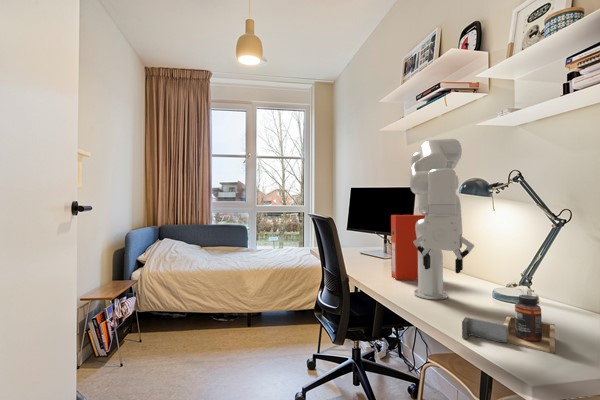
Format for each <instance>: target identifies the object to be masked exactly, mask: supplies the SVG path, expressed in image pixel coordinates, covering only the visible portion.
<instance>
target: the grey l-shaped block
mask: <svg viewBox="0 0 600 400" xmlns="http://www.w3.org/2000/svg"><path fill="white" fill-rule="evenodd" d="M470 336H473V337H474V336H475V337H478V338H483V339H487V340H491V341H494V342H495V341H496V342H500V343H505V344H508V343H507V325H503V324H501V323H497V322H492V321H487V320H482V319H476V318H473V317H467V316H465V317H464V318H463V320H461V337H462V339H466V340H467V339H468V338H469V337H470Z"/></svg>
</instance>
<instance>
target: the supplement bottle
mask: <svg viewBox="0 0 600 400" xmlns="http://www.w3.org/2000/svg"><path fill="white" fill-rule="evenodd" d="M537 303H538V301H537V297H536V296H534V295H529V294H519V295H518V301H517V302H515V304H514V317H515V331H516V335H517V337H519V338H521V339H524V340H527V341H535V342H536V341H540V340H542V322H543V321H542V319H543V318H542V308H541V306H540V305H539V304H537Z"/></svg>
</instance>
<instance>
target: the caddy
mask: <svg viewBox="0 0 600 400" xmlns="http://www.w3.org/2000/svg"><path fill="white" fill-rule="evenodd" d="M503 322H504V323H503V324H502V325H507V343H506V344H513V345H516V346H519V347H525V348H528V349H529V348H530V349H533V350H538V351H542V352H546V353H551V354H556V334H555V333H556V330H555V327H556V325H555V324H554V323H550V322H549V323H548V322H543V321H542V340H540V341H536V342H535V341H527V340H524V339H521V338H519V337H517V335H516V331H515V316H513V315H512V316H511V315H507V316H506V318H505V321H503Z"/></svg>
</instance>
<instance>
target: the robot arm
mask: <svg viewBox="0 0 600 400" xmlns="http://www.w3.org/2000/svg"><path fill="white" fill-rule="evenodd" d="M461 144H462V143H460V141H459V140H457V139H456V138H443V139H442V138H441V139H431V140H430V139H429V140H426V141H424V142H423V143H422V144H421V146H420V147H419V151H417V152H415V153H413V154H412V156H411V159H410V163H411V167H410V170H409V188H410V191H411V192H412V193H413V194H414V195H418V196H417V199H418V201H417V203H418V211H419V214H420V215H425V218H424V219H420V220H418V221H417V222H416V225H415V230H416V237H417V239H416V240H414V241H413V243H414V244H415V246H416V247H417V249H418V280H417V289H414V291H413V294H414V295H415V296H416V297H418V298H422V299H427V300H437V301H438V300H446V299H447V298H448V293H447V292H446V291H444V253H443V251H447V252H448V251H450V252H453V253H454V255H455V256H456V258H455V269H454V270H455V272H454V273H456V274H460V273H461V271H463V269H464V268H463V267H464V265H463V263H464V261H463V259H464V258H465V257H466V256H467V255H469V254H470V253H471V251H472V250H473V249H474V248H475V244H474V243H472V242H471V241H470V240H467V239H466V238H465V237H463V220H462V205H461V199H460V196H458V195H457V190H458V188H459V177H458V175H457V174H456V171H455V168H456V167H457V165H458V163H459V161H460V160H461V157H462V153H463V148H462V145H461ZM463 245H465V247H466V248H465V249H464V250H463V251H462V250H461V248H462V247H463Z"/></svg>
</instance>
